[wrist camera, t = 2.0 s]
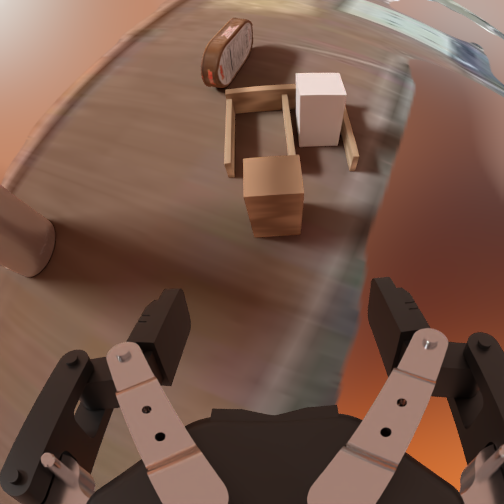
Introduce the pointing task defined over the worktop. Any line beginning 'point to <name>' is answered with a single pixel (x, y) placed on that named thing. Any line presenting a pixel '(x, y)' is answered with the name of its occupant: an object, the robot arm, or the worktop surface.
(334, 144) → the white block
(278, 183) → the tan block
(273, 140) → the worktop surface
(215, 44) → the tin
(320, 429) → the robot arm
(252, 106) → the rack
